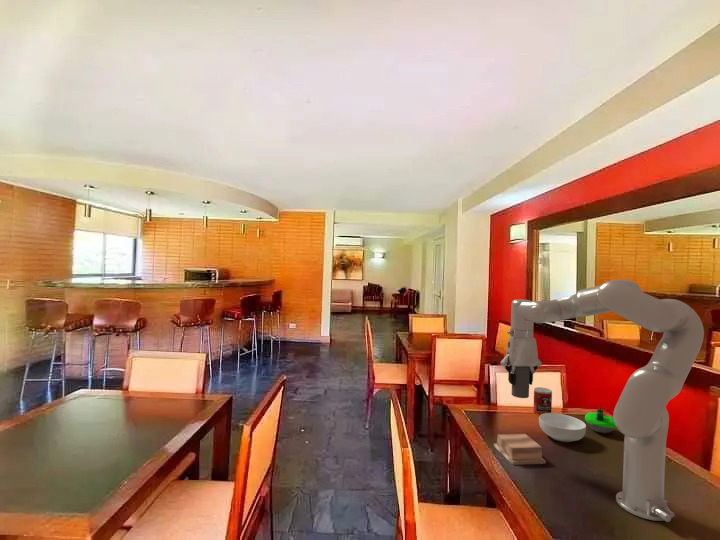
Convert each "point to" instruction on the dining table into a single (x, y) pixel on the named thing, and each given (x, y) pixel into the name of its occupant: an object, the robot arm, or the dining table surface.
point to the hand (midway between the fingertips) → (520, 383)
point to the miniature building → (600, 421)
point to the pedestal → (519, 449)
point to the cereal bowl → (562, 427)
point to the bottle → (521, 382)
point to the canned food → (542, 400)
